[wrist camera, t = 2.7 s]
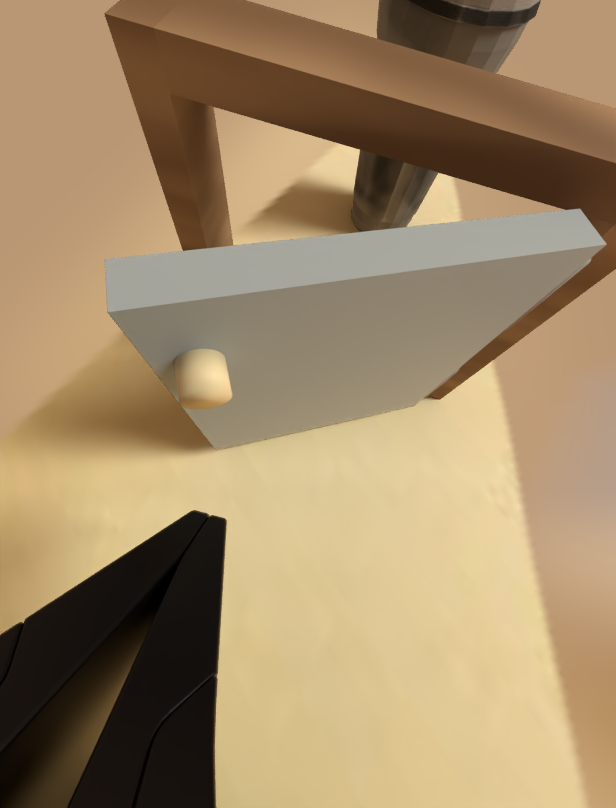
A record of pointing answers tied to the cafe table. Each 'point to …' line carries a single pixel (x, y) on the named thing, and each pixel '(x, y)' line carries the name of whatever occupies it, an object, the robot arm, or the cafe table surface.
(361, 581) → the cafe table surface
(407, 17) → the beverage cup
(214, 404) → the cabinet door
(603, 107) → the cabinet frame
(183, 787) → the robot arm
